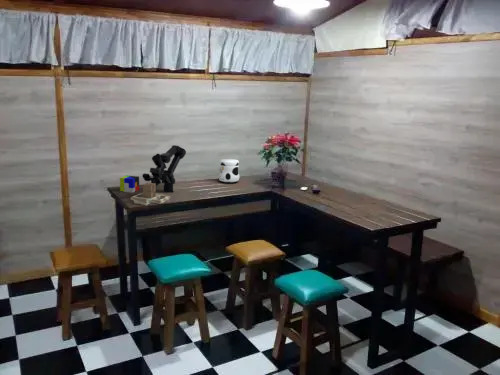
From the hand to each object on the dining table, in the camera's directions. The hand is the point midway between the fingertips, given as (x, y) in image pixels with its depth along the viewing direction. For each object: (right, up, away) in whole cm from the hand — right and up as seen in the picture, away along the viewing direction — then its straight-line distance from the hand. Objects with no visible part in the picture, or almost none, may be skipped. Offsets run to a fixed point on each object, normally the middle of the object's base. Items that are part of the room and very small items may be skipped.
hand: (151, 188), depth 295 cm
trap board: (-1, -8, -2) cm, 8 cm away
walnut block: (-1, -6, -2) cm, 6 cm away
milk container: (+49, +5, +65) cm, 81 cm away
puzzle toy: (-21, -2, +22) cm, 31 cm away
